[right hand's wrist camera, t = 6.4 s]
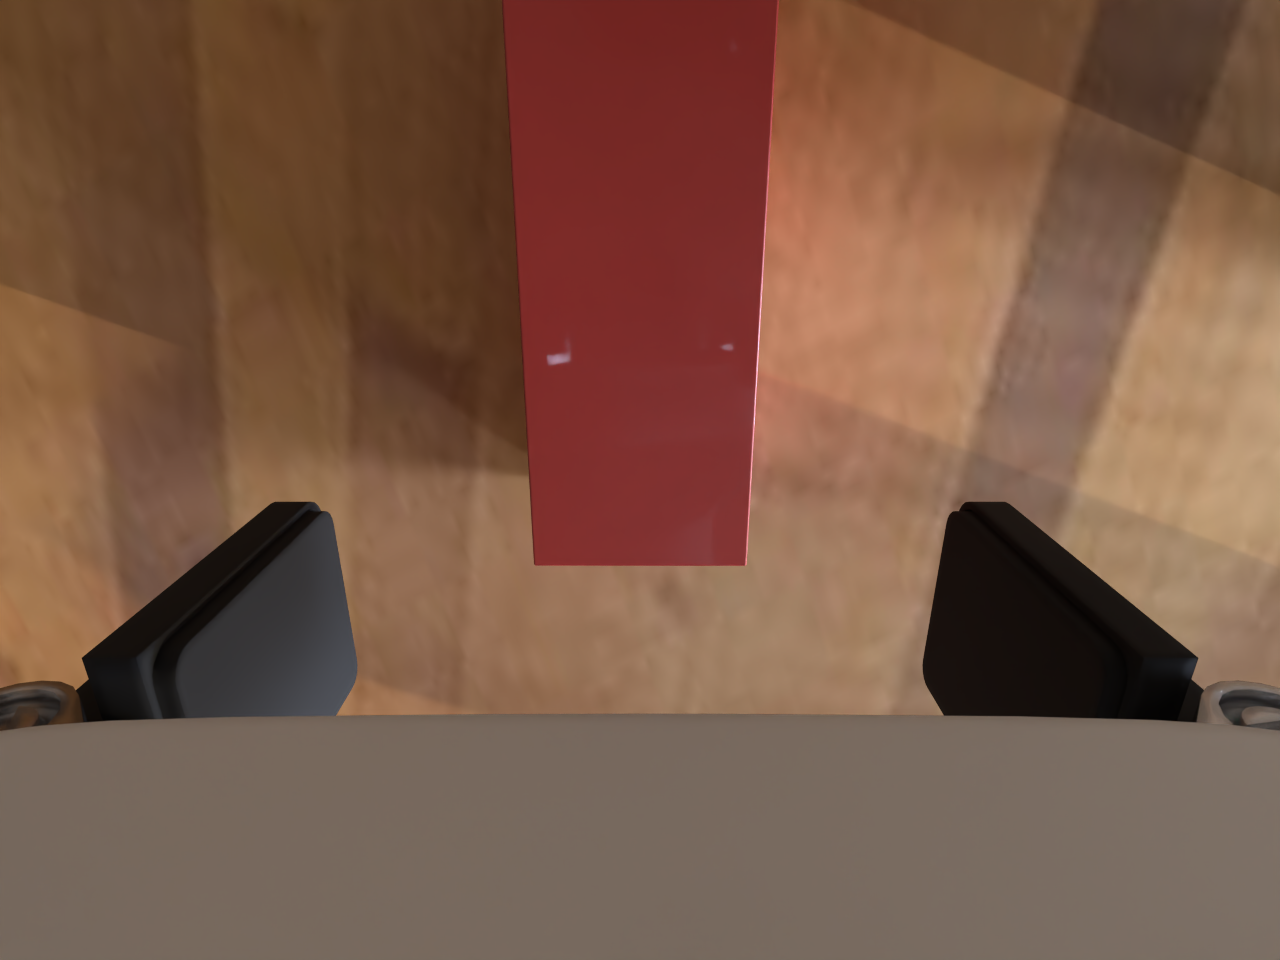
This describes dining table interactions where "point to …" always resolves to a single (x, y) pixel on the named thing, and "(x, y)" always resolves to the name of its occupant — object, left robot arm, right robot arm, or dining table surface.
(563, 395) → the cabinet
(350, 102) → the dining table surface
